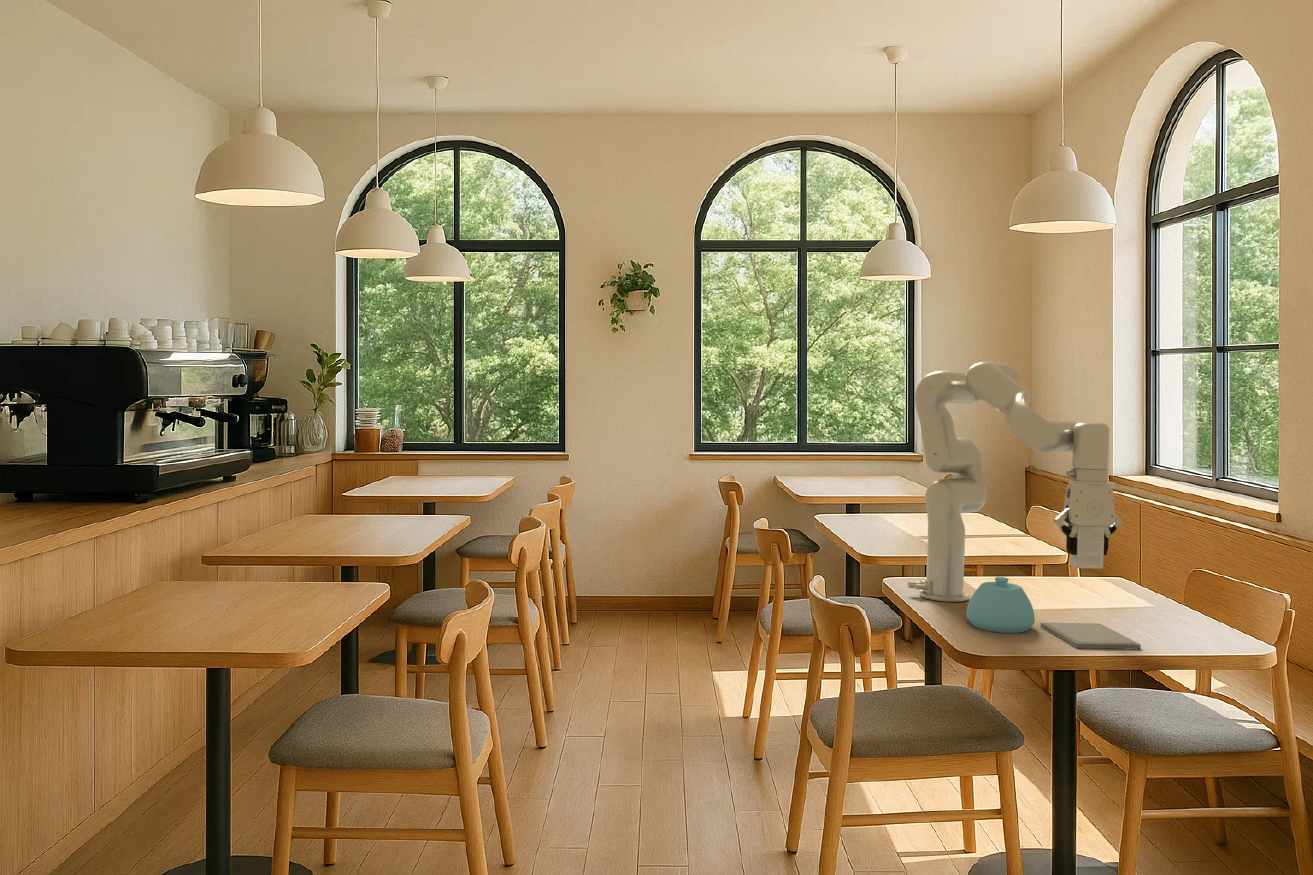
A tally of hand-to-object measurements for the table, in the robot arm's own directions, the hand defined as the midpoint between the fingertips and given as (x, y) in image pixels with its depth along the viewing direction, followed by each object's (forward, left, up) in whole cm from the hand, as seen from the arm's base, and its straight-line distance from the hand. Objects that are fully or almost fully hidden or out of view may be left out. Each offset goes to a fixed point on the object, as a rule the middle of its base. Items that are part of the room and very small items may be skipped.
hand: (1086, 553), depth 216 cm
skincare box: (0, 0, -3) cm, 3 cm away
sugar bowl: (-18, +3, -18) cm, 26 cm away
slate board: (-2, -6, -18) cm, 19 cm away
